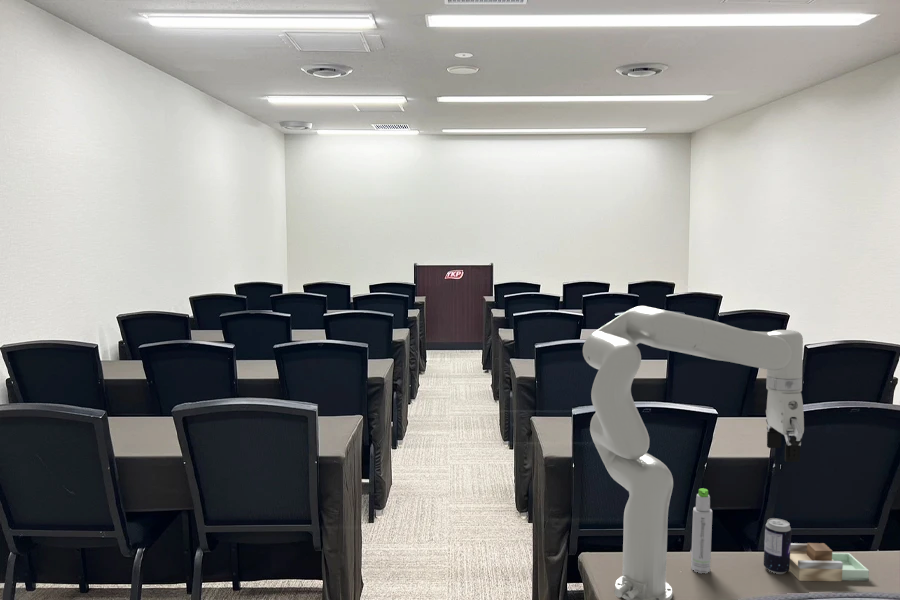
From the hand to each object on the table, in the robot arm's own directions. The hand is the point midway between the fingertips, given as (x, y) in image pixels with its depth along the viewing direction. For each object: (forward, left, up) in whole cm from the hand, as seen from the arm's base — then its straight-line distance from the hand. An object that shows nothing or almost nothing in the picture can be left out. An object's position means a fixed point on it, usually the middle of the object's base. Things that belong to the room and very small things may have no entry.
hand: (782, 454), depth 167 cm
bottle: (-11, +14, -29) cm, 34 cm away
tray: (+11, -12, -29) cm, 33 cm away
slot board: (+6, -6, -29) cm, 30 cm away
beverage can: (+1, +1, -29) cm, 29 cm away
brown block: (+7, -7, -26) cm, 28 cm away
